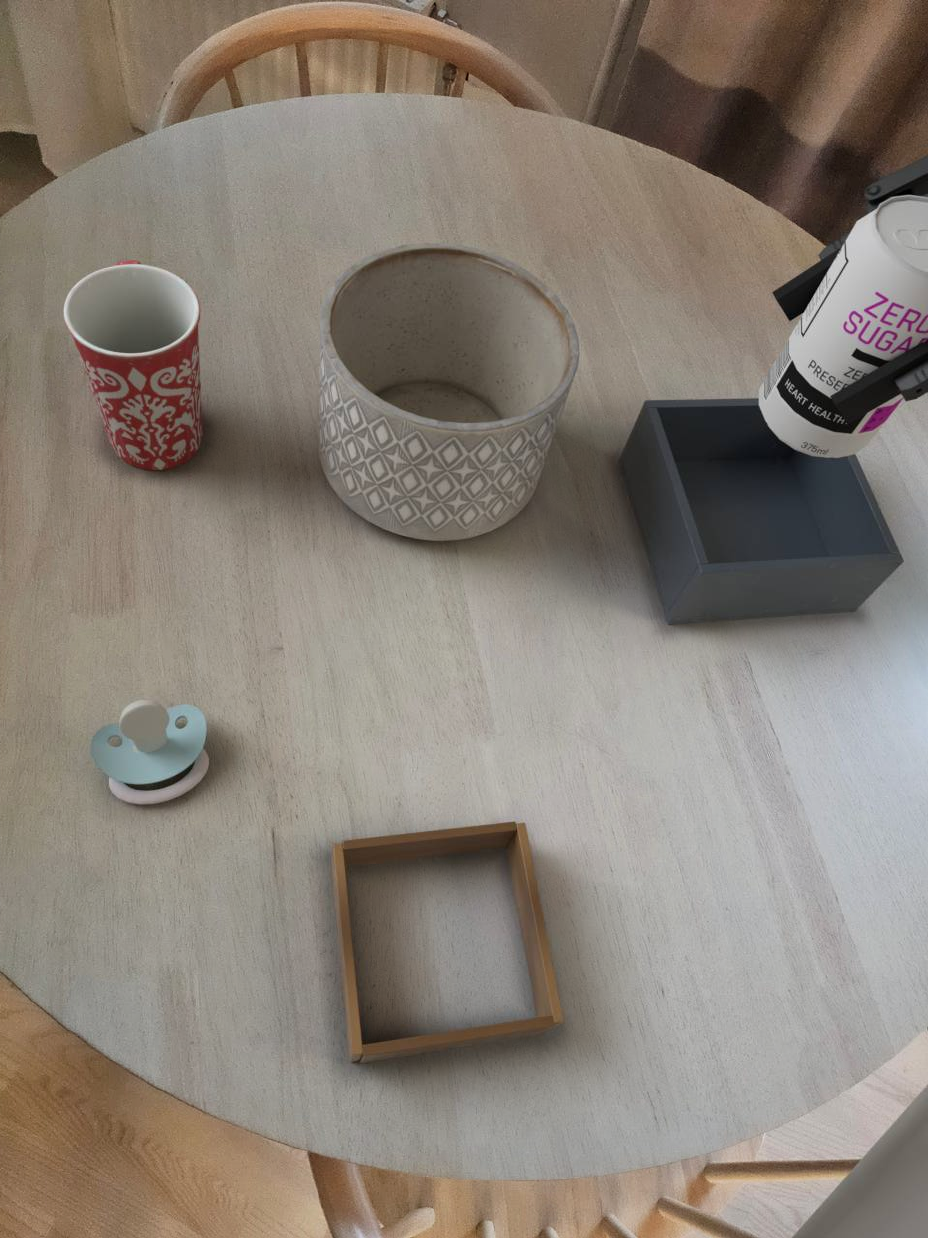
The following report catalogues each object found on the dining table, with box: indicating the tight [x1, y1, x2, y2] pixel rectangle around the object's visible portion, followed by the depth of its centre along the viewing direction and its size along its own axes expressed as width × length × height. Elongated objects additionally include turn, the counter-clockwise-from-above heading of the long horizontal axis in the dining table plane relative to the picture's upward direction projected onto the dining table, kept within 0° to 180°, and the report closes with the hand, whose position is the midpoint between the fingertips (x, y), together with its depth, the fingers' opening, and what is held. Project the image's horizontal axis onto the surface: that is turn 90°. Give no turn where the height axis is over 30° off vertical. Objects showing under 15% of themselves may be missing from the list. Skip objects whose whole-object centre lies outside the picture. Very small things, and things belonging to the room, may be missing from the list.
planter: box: [317, 242, 580, 542], centre depth 74 cm, size 19×19×14 cm
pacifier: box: [89, 698, 210, 805], centre depth 61 cm, size 7×6×6 cm
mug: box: [62, 259, 204, 471], centre depth 72 cm, size 13×9×14 cm
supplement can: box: [758, 195, 928, 458], centre depth 59 cm, size 8×8×15 cm
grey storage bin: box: [618, 397, 905, 626], centre depth 77 cm, size 17×17×8 cm
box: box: [330, 821, 564, 1064], centre depth 58 cm, size 12×12×4 cm
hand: (809, 356), depth 60 cm, fingers closed on supplement can, 8 cm apart
